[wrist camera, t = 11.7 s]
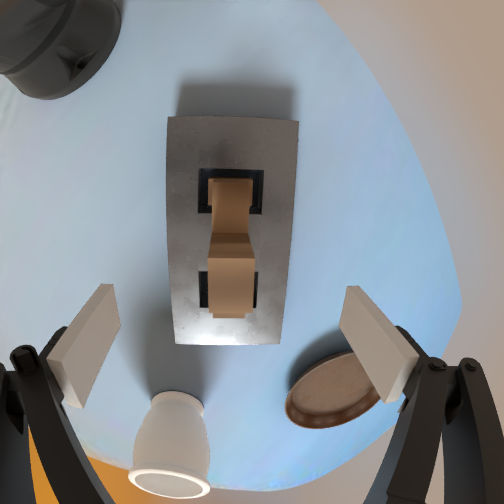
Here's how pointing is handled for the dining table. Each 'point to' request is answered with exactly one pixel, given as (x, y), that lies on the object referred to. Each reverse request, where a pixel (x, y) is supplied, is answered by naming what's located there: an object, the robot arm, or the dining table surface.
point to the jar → (172, 448)
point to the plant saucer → (331, 393)
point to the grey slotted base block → (200, 222)
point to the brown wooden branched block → (230, 247)
